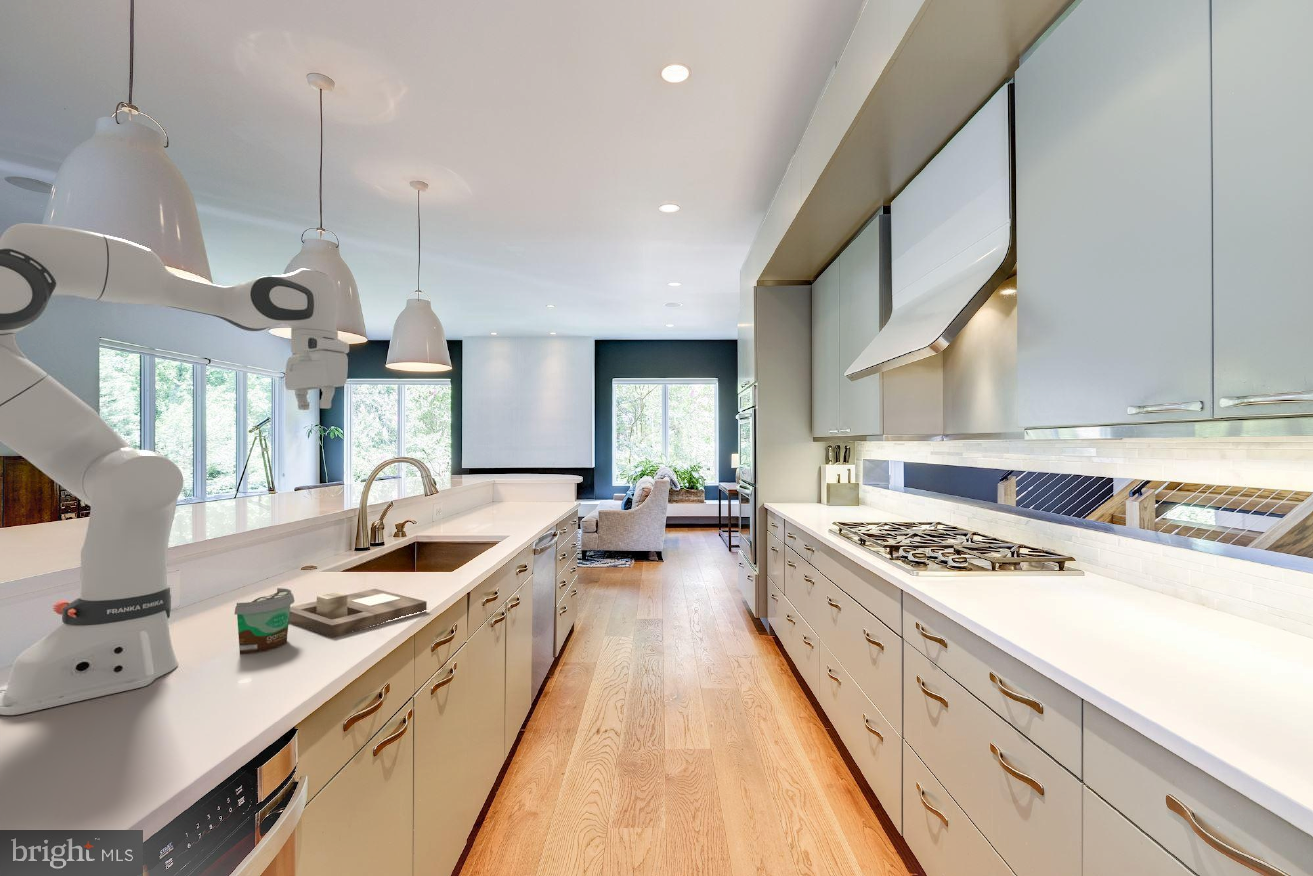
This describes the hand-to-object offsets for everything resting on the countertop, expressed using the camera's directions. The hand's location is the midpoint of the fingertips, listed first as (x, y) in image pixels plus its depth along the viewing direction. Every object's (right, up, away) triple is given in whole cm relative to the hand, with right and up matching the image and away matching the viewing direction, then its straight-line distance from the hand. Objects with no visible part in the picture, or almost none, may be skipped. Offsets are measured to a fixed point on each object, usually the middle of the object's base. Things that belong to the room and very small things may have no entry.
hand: (314, 409), depth 124 cm
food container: (-1, -48, -12) cm, 49 cm away
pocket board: (+5, -48, +8) cm, 49 cm away
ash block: (+2, -48, +4) cm, 48 cm away
